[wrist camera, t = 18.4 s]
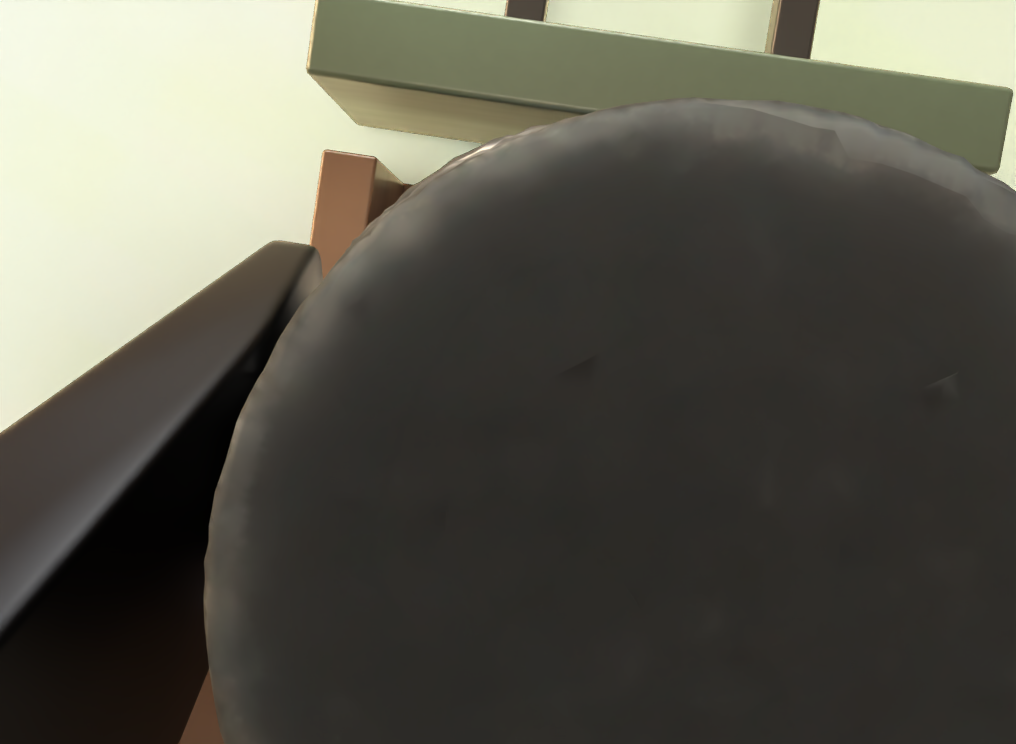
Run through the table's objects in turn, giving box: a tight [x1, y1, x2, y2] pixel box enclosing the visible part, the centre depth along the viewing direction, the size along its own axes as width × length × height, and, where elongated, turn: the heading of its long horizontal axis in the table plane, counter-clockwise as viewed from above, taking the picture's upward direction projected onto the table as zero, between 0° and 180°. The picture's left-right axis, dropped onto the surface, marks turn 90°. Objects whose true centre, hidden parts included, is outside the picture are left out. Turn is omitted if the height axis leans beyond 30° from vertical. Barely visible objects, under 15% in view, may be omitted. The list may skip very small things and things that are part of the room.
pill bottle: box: [204, 97, 1016, 744], centre depth 10 cm, size 6×6×11 cm
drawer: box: [306, 0, 1013, 279], centre depth 15 cm, size 15×10×4 cm, turn 171°
